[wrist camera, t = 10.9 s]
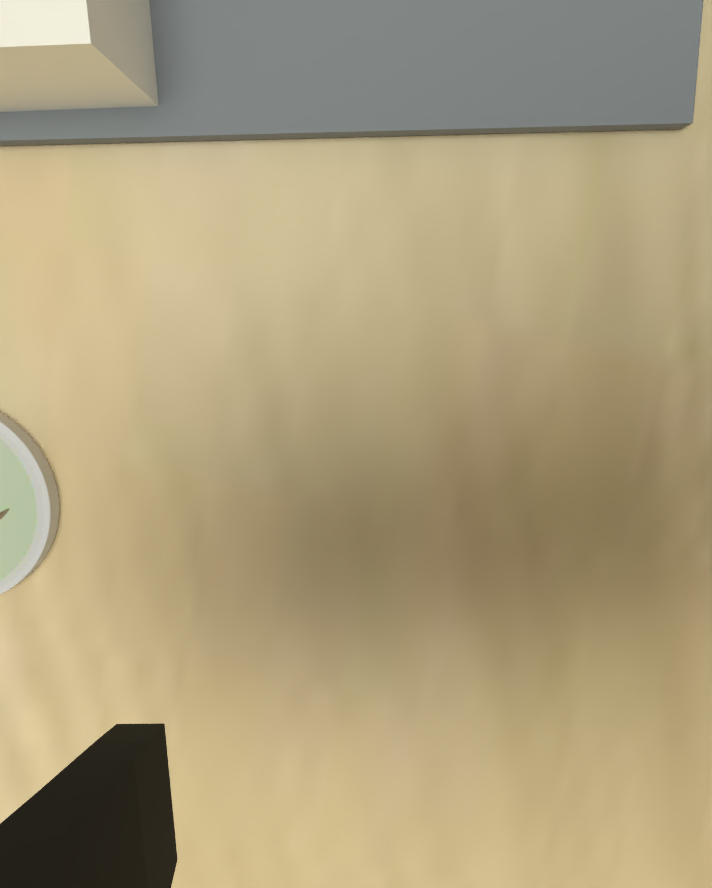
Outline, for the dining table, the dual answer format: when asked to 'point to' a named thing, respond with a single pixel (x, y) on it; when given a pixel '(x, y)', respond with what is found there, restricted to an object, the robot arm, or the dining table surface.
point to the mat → (397, 71)
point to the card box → (76, 55)
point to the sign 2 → (24, 504)
